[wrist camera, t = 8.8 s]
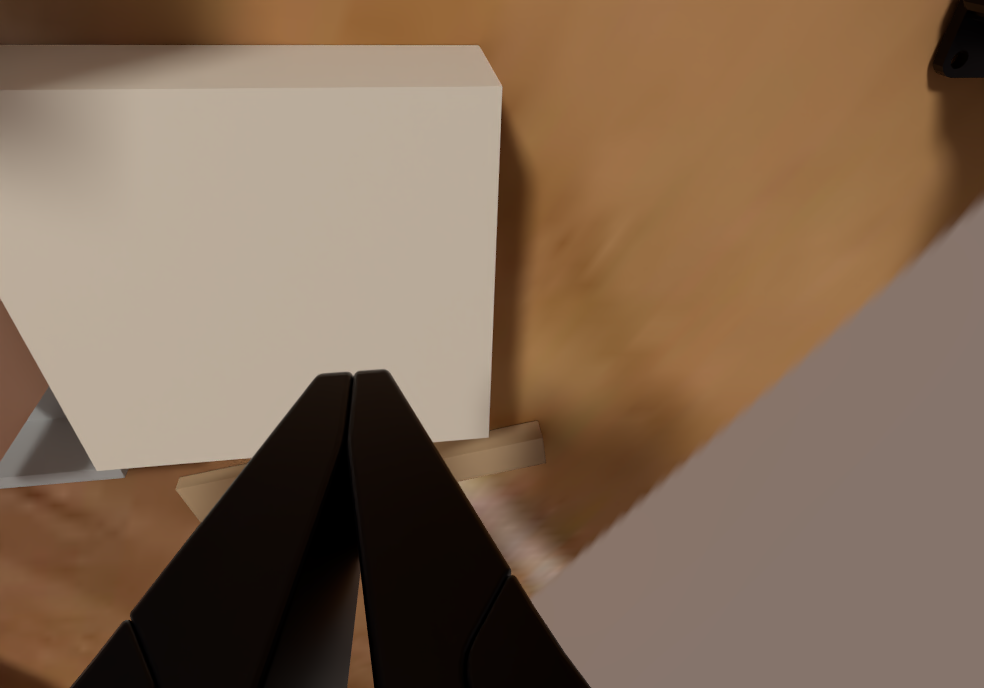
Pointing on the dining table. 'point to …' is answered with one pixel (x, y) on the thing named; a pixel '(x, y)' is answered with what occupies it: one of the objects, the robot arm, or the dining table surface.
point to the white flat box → (247, 234)
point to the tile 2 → (16, 382)
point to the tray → (49, 451)
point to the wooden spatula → (461, 456)
